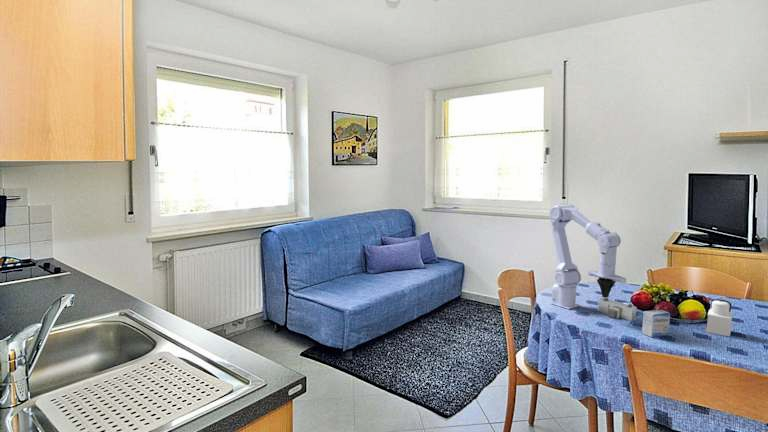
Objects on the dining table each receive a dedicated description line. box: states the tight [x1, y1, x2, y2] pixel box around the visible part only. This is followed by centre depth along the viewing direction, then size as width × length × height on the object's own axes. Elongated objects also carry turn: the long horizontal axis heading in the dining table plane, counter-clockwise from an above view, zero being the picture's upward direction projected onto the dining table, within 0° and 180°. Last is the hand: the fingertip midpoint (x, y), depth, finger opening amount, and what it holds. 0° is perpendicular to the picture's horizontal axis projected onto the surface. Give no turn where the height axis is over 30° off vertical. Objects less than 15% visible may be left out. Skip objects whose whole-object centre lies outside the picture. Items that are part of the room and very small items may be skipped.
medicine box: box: [641, 309, 671, 339], centre depth 167 cm, size 8×4×9 cm, turn 105°
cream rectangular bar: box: [607, 302, 634, 319], centre depth 189 cm, size 14×4×4 cm, turn 124°
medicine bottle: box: [705, 298, 734, 337], centre depth 169 cm, size 7×7×12 cm
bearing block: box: [597, 297, 637, 322], centre depth 187 cm, size 14×3×6 cm, turn 34°
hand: (605, 296), depth 181 cm, fingers closed
